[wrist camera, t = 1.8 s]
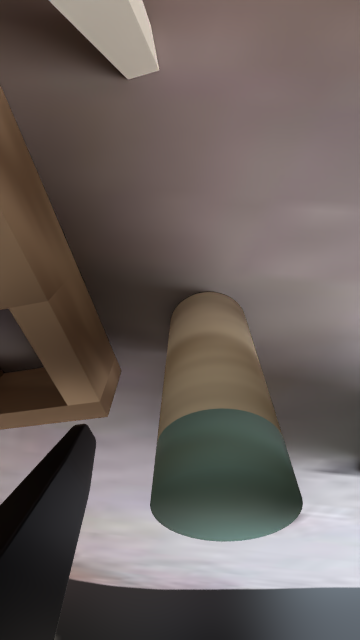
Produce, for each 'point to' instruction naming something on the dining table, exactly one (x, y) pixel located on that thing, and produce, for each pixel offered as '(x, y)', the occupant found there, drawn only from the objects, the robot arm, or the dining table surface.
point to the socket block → (46, 302)
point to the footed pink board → (115, 32)
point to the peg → (219, 431)
